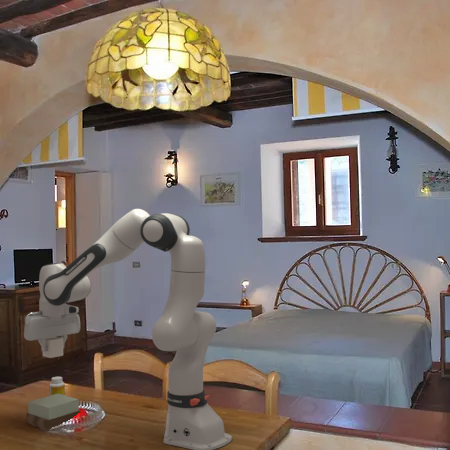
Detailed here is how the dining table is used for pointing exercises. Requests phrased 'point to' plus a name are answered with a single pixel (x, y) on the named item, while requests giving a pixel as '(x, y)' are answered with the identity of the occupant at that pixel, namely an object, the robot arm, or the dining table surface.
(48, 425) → the tower base
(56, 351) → the cream block
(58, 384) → the supplement bottle
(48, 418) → the tower top
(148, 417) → the dining table surface
